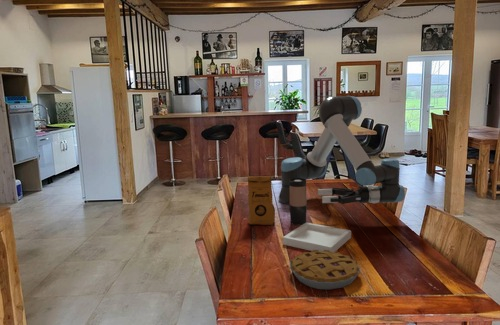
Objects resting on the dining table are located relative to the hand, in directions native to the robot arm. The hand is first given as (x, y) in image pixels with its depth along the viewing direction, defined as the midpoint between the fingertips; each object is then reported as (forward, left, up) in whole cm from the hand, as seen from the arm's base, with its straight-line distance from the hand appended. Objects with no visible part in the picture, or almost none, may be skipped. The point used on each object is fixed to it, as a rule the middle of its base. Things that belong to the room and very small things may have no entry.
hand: (319, 195), depth 168 cm
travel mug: (-8, -5, -13) cm, 16 cm away
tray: (+9, -21, -12) cm, 26 cm away
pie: (+23, -46, -13) cm, 53 cm away
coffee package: (-22, -14, -13) cm, 29 cm away
